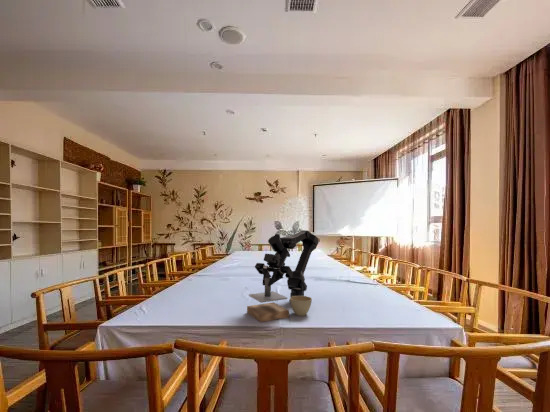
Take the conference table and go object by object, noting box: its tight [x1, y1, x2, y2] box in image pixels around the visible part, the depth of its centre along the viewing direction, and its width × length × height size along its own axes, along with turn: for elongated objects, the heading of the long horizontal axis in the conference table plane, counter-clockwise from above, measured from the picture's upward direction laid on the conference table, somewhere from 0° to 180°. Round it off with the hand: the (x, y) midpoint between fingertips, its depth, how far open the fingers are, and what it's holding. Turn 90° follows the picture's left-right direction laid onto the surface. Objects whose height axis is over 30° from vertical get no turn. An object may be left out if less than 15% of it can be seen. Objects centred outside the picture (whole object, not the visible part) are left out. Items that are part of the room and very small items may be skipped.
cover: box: [248, 277, 288, 304], centre depth 131 cm, size 13×13×9 cm
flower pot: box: [289, 295, 312, 317], centre depth 132 cm, size 10×10×7 cm
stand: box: [246, 301, 290, 323], centre depth 130 cm, size 14×14×3 cm
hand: (265, 285), depth 130 cm, fingers closed on cover, 3 cm apart
